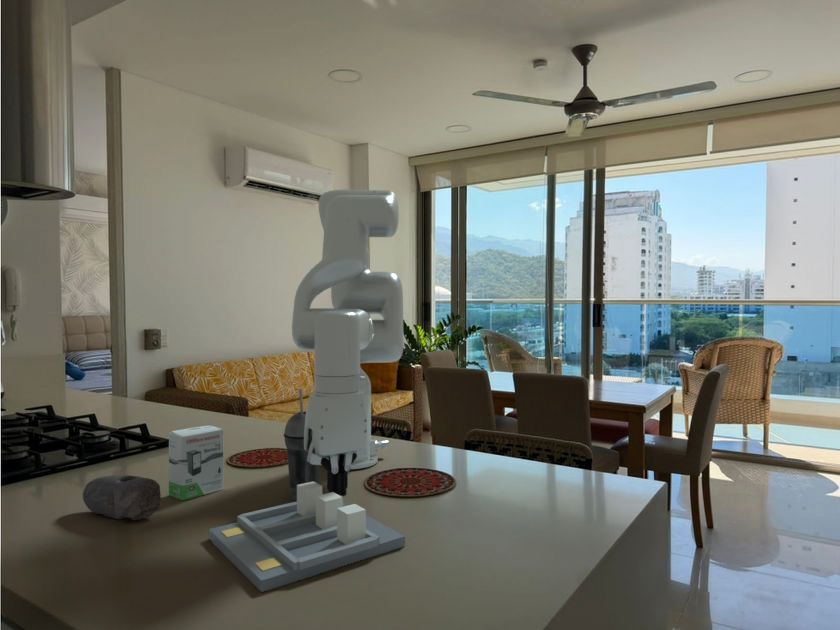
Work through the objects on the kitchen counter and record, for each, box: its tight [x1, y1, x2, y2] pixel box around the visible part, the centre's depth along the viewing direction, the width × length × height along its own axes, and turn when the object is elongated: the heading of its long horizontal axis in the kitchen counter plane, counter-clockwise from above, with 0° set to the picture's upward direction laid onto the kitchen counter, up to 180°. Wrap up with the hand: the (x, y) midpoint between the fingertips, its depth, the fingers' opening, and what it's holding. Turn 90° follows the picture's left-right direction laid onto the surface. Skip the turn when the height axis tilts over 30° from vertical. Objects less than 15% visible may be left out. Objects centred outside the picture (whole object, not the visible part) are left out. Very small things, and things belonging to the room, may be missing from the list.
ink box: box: [168, 425, 224, 501], centre depth 108 cm, size 9×5×12 cm, turn 140°
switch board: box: [208, 501, 406, 593], centre depth 87 cm, size 22×21×2 cm
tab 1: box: [296, 481, 323, 516], centre depth 94 cm, size 3×3×4 cm
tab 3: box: [337, 503, 367, 544], centre depth 84 cm, size 3×3×4 cm
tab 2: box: [316, 492, 344, 529], centre depth 89 cm, size 3×3×4 cm
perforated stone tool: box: [82, 474, 162, 521], centre depth 97 cm, size 15×5×7 cm, turn 68°
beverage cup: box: [283, 388, 320, 501], centre depth 106 cm, size 7×7×20 cm
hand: (337, 494), depth 97 cm, fingers closed
